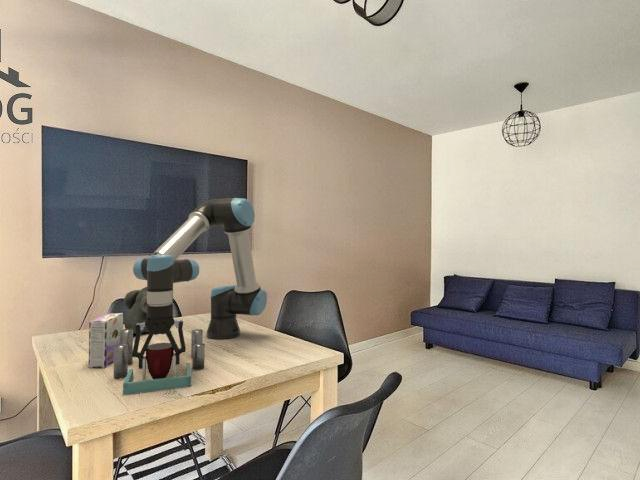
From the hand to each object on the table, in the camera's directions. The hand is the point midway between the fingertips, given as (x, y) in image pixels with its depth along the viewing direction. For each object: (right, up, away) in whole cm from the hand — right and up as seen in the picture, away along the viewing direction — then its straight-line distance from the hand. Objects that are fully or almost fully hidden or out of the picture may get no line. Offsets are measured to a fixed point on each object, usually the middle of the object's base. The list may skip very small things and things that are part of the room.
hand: (159, 376), depth 113 cm
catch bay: (0, -2, 0) cm, 2 cm away
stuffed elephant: (-35, -2, +63) cm, 72 cm away
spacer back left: (+3, -2, +25) cm, 25 cm away
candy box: (-28, -2, +19) cm, 33 cm away
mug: (0, -1, 0) cm, 1 cm away
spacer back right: (-19, -2, +17) cm, 26 cm away
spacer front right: (-15, -2, +5) cm, 15 cm away
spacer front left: (+8, -2, +13) cm, 15 cm away
